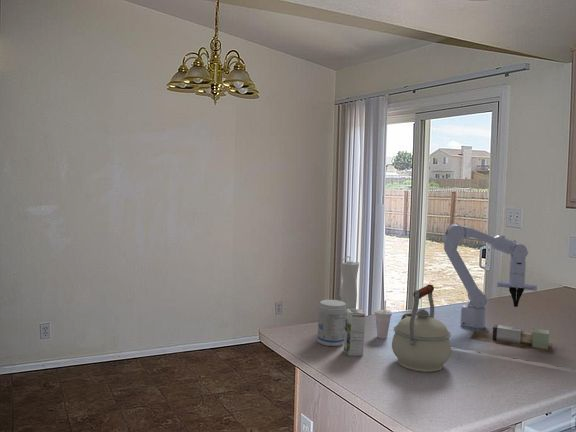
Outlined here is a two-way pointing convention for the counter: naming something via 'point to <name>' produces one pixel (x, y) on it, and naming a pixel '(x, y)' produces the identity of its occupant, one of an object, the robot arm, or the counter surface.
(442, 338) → the kettle
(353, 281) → the white bottle
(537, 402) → the counter surface
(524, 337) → the slip rod
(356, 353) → the syrup box
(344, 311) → the supplement tub
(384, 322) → the smoothie
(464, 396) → the counter surface
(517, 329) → the metal sleeve
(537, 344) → the socket block
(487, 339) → the walnut board
